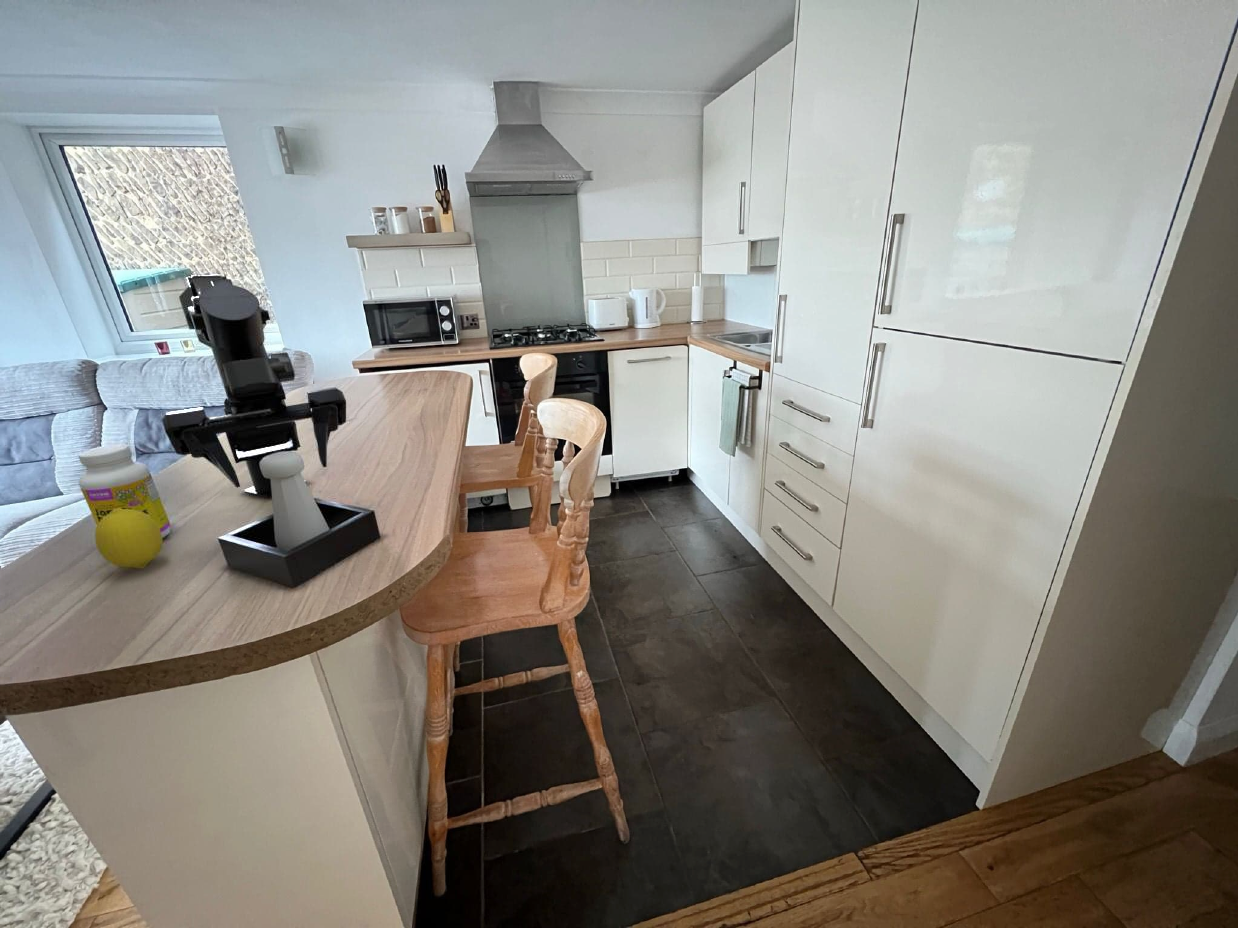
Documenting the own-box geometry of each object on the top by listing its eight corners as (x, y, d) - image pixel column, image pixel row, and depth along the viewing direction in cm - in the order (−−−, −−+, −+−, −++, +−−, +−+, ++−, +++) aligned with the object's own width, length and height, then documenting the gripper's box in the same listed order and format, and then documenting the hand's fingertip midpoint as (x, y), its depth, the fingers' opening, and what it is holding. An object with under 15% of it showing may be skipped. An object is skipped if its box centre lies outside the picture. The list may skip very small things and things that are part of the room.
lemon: (136, 557, 64) (111, 500, 61) (182, 554, 64) (159, 497, 61) (98, 582, 58) (68, 521, 56) (148, 579, 59) (121, 517, 56)
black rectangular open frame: (227, 567, 61) (217, 537, 59) (318, 522, 71) (311, 497, 69) (294, 588, 56) (284, 557, 55) (380, 537, 66) (374, 510, 65)
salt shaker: (309, 566, 60) (279, 464, 56) (269, 562, 61) (236, 462, 57) (343, 541, 66) (318, 447, 61) (305, 538, 67) (278, 445, 62)
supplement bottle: (99, 557, 64) (54, 463, 59) (118, 535, 70) (78, 447, 65) (165, 543, 67) (128, 452, 62) (179, 523, 72) (145, 438, 68)
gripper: (133, 341, 55) (167, 463, 50) (325, 325, 65) (366, 424, 61) (162, 401, 63) (193, 508, 59) (327, 377, 74) (363, 467, 70)
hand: (283, 475), depth 62 cm, fingers open, 9 cm apart
